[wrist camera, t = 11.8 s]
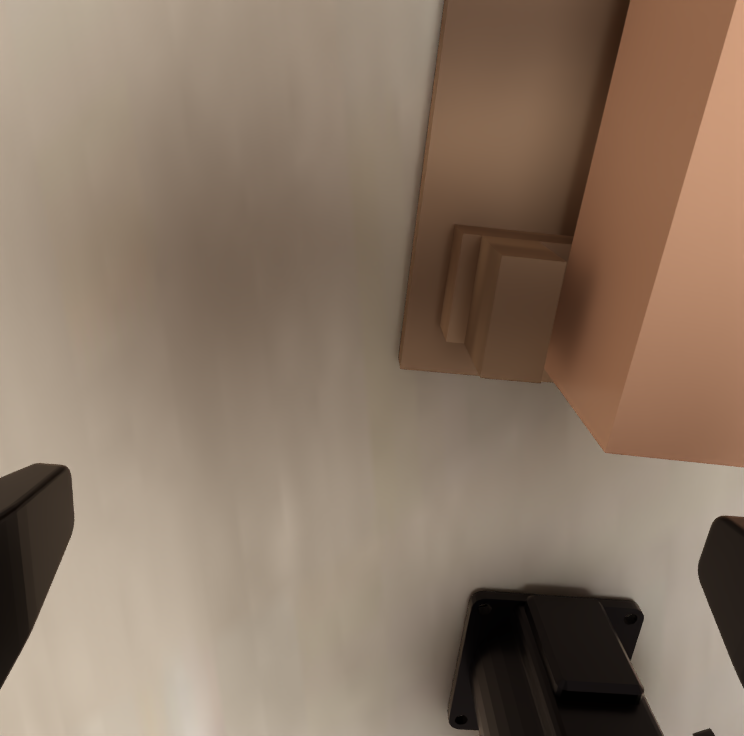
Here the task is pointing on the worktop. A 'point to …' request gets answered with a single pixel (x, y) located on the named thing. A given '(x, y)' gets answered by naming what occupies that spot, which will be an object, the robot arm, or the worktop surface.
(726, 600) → the robot arm
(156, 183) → the worktop surface
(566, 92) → the drying rack
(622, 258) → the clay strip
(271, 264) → the worktop surface
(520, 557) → the worktop surface
